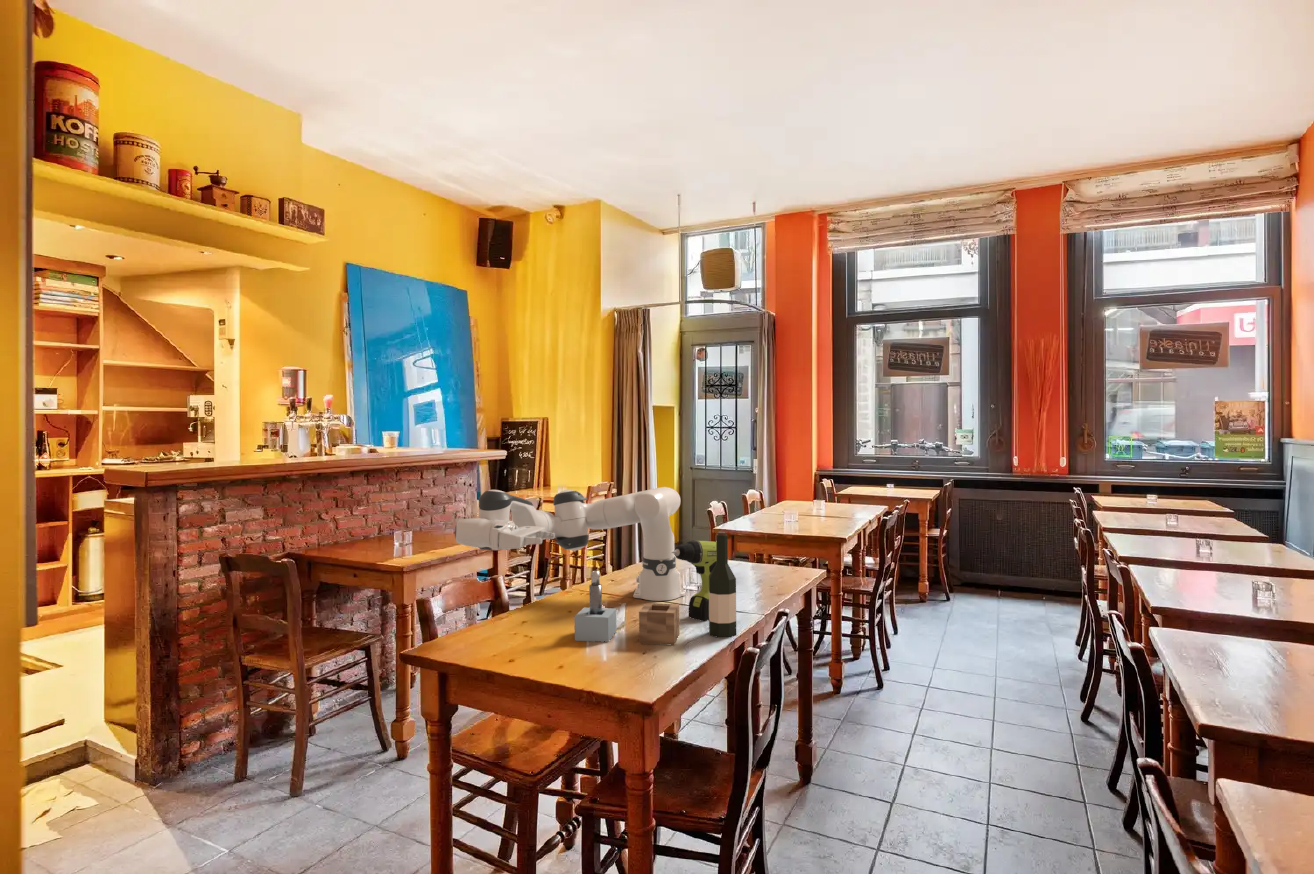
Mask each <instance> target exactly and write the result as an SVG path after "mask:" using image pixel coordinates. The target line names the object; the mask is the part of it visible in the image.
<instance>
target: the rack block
mask: <svg viewBox="0 0 1314 874" xmlns="http://www.w3.org/2000/svg"><path fill="white" fill-rule="evenodd" d="M638 629H639V630H638V632H639V633H638V636H639V639H638V642H639V643H643V644H644V645H659V644H671V645H670V646H675V645H674V644H676V643H677V640H678V639H677V638H679V637H678V636H680V604H678V603H655V602H653V603H652V602H645V603H644V605H643V606H642V607H641V608H640V610H639V611H638ZM643 644H642V645H643Z"/></svg>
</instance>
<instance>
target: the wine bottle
mask: <svg viewBox="0 0 1314 874" xmlns="http://www.w3.org/2000/svg"><path fill="white" fill-rule="evenodd" d="M715 537H716V540H715V542H716V556H717V563H716V565H715V566H714V568H713V570H712V572H711V573H710V575H709V620H708V633H709V636H710V637H714V636H717V637H716V638H718V637H730V638H733V637H734V636H737V578H736V576H735V574H734V572H733V570H732V569H731V567H730V565H729V561H728V558H729V557H728V555H729V554H728V551H729V549H728V548H729V547H728V546H729V545H728V534H727V531H718V532H717V534H716V536H715ZM732 636H733V637H732Z"/></svg>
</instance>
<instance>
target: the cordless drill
mask: <svg viewBox="0 0 1314 874" xmlns="http://www.w3.org/2000/svg"><path fill="white" fill-rule="evenodd" d="M672 553H674V556H675V557H676V560H681V561H686V562H688V563H690V564H692V565H693V567H695V570H696V571H695V572H696V574H699V576H700V578H701V589H700V590H699V592H697V593H694V594H693V595H692V596H691V597H690V600H689V603H688V618H690V617H691V618H690V619H692V618H694V619H693V620H696V619H697V621H700V620H701V621H700V622H707V620H708V621H709V575H710V573H711V572H712V570H713V568H714V566H715V565H716V563H717V556H716V541H709V540H691V541H690V540H689V541H687V542H686V543H682V544H678V545H676V547H674V551H673V552H672Z"/></svg>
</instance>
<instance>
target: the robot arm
mask: <svg viewBox="0 0 1314 874" xmlns="http://www.w3.org/2000/svg"><path fill="white" fill-rule="evenodd" d="M677 491H678V490H676V489H674V488H672V487H668V486H661V487H655V488H651V489H647V490H642V491H641V490H640V491H637V492H633V493H628V494H623V495H617V496H614V497H608V498H604V499H601V500H597V501H595V502H589V503H586V502H584V501H587V500H588V498H587V497H585V496H583V494H582V493H581V492H579V491H577V490H572V489H564V490H562V491H560V492H558V493H556V494H555V495H554V497H553V506H554V514H553V513H552V512H549V511H547V510H540V509H536V508H535V506H534V504H533V502H532V501H529V499H528V500H527V499H525V498H523V497H518V496H515V495H513V494H510V493H508V492H506V491H502V490H499V489H489V490H485V491H484V492H483V493H482V494H480V496H479V497H478V517H477V518H476V517H469V518H460V519H458V521H457V522H456V525H455V528H454V539H455V542H456V544H459V545H463V546H465V547H466V546H467V547H472V548H478V549H480V550H485V551H500V550H504V551H509V550H513V549H514V550H515V549H522V548H523V547H526V546H528V545H529V546H530V545H542V544H543V540H546V539H547V540H553V539H556V540H554V543H557V545H558V546H560V548H562V549H564V550H567V551H572V552H573V551H575V552H576V551H579V550H581V549H583V548H585V547H586V546H587V545H588V544H589V539H590V536H589V533H588V530H589V529H591V530H607V529H609V530H610V529H615V528H618V527H619V528H621V527H625V526H630V525H635V524H639V523H640V526H641V530H642V535H643V537H642V539H643V557H642V561H641V562H642V570H641V572H640V573H639V574H638V575H637V576H636V578H635V579H636V582H635V583H637V586H636V588H635V589H634V592H633V595H632V596H633V598H634V599H643V600H646V601H656V602H657V601H658V602H659V601H661V602H663V601H671V600H675V599H676V600H677V599H679V598H680V597H684V596H686V592H685V591H684V590H682V587H681V585H682V584H681V573H680V571H678V569H677V568H676V566H677V558H676V556H675V555H674V553H672V552H673V551H674V550H675V535H674V532H673V531H672V527H671V522H670V516H673V515H674V514H675V513H676V512H677V511H678V510H679V508H680V506H681V496H680V494H679V493H678V492H677ZM510 515H511V518H512V520H510Z"/></svg>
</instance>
